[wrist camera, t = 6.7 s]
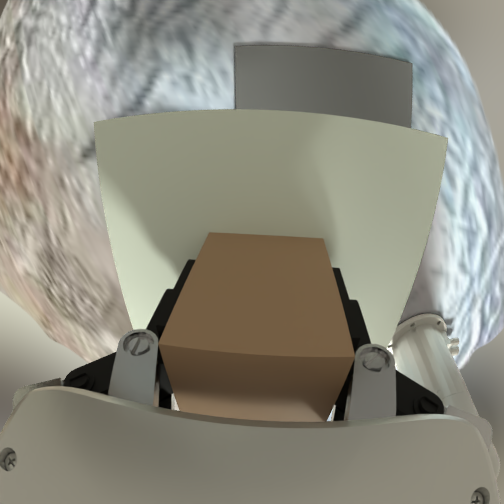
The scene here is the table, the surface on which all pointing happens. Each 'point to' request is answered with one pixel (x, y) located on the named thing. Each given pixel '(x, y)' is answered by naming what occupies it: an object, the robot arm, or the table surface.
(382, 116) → the mat
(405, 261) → the lid
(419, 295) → the table surface
